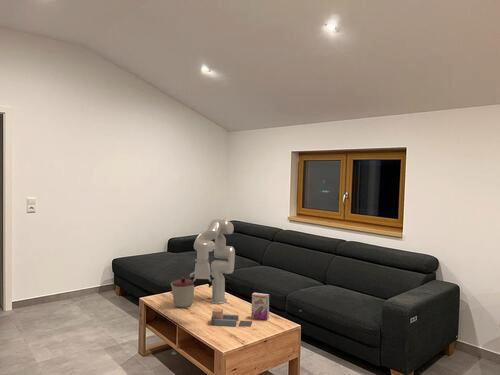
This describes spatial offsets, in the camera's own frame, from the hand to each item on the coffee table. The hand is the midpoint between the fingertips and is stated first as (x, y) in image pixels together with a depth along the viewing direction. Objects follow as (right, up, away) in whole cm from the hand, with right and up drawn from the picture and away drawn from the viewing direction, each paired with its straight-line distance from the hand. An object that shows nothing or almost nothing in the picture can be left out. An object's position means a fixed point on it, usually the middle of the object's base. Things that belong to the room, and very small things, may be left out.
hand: (202, 286), depth 257 cm
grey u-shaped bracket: (+15, -23, -2) cm, 28 cm away
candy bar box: (+38, -23, +6) cm, 45 cm away
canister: (-18, -22, +30) cm, 41 cm away
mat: (+28, -23, -4) cm, 37 cm away
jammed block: (+10, -23, -1) cm, 25 cm away
